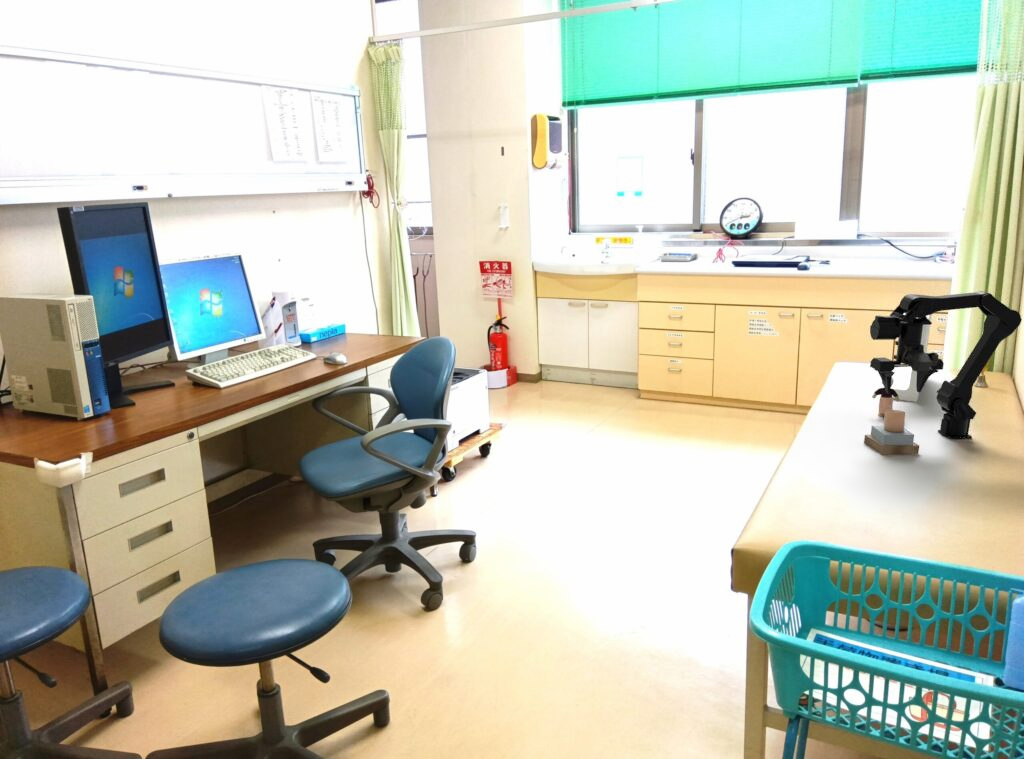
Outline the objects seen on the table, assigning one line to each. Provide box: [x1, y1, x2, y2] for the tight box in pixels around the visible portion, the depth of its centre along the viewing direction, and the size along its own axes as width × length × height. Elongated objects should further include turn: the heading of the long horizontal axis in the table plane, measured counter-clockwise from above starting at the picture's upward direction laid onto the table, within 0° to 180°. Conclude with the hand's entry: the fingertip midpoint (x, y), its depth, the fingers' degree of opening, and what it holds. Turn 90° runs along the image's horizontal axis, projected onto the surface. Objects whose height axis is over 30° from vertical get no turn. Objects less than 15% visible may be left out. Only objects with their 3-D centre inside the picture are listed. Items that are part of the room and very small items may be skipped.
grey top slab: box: [870, 424, 915, 445], centre depth 210 cm, size 8×8×3 cm
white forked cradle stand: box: [891, 313, 933, 403], centre depth 265 cm, size 35×8×28 cm, turn 149°
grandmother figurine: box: [871, 377, 900, 417], centre depth 237 cm, size 8×4×13 cm, turn 71°
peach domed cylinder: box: [883, 409, 906, 432], centre depth 209 cm, size 5×5×5 cm
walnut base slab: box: [863, 434, 920, 457], centre depth 211 cm, size 10×10×3 cm
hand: (903, 392), depth 218 cm, fingers open, 9 cm apart
